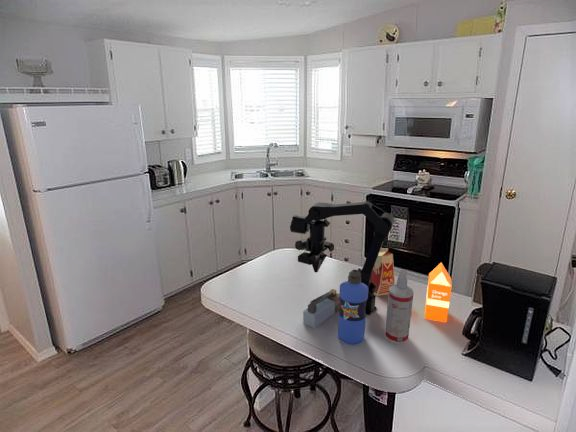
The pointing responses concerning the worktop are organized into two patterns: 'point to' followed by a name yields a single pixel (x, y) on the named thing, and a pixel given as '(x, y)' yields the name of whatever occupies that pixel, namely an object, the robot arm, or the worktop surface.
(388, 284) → the milk carton
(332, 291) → the bar
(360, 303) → the blue bottle
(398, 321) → the spray bottle
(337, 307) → the tan wooden block
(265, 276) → the worktop surface
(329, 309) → the blue-grey block
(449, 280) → the orange juice
